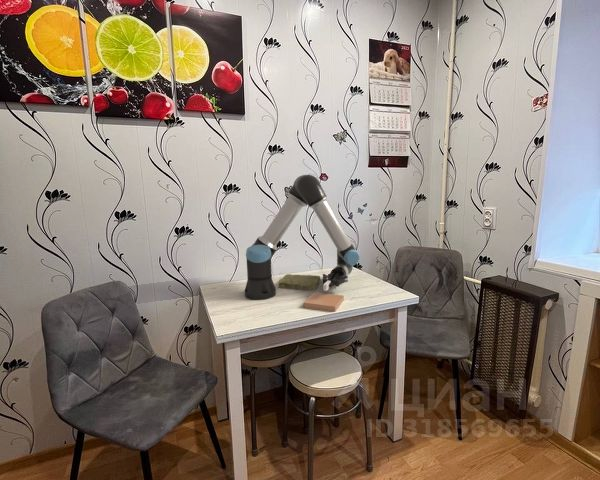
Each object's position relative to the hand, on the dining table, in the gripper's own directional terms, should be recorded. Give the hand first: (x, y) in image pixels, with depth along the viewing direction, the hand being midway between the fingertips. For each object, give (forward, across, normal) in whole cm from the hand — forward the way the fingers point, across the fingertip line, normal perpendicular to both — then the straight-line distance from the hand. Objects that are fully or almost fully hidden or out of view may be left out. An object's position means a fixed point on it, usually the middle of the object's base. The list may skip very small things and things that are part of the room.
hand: (324, 287), depth 144 cm
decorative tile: (-21, +21, -8) cm, 31 cm away
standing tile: (-6, 0, -6) cm, 8 cm away
